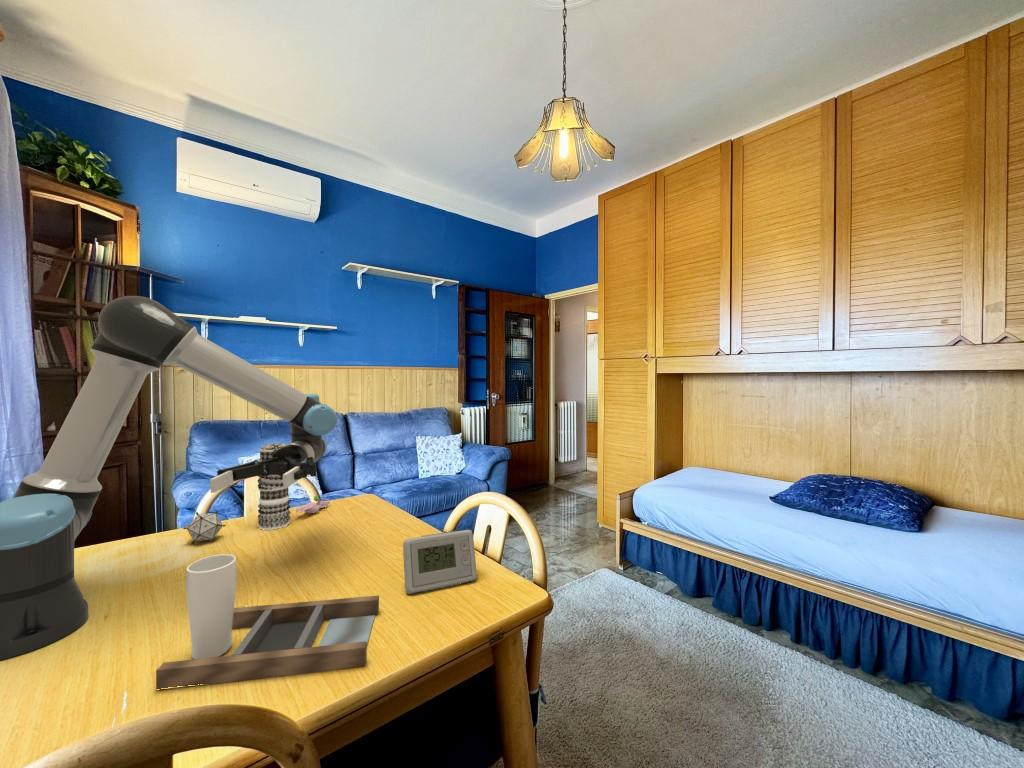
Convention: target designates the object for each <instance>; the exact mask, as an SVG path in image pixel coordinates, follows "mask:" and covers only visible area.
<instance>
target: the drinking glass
mask: <svg viewBox="0 0 1024 768" xmlns="http://www.w3.org/2000/svg"><path fill="white" fill-rule="evenodd" d="M237 570H238V569H237V557H236V556H235V555H233V554H228V553H227V554H222V553H221V554H214V555H210V556H206V557H203V558H200V559H197V560H195V561H193V562H191V563H190V564H189V565H188V566H187V567H186V571H185V572H186V574H185V598H186V606H187V615H188V622H189V631H190V642H191V657H192V660H194V659H203V658H213V657H222V656H224V654H225V653H227V652H228V651H229V650H230V649H231V647H232V645H233V636H232V635H233V629H232V626H233V615H234V608H235V602H236V593H237V581H238V579H237V578H238V575H237V573H238V571H237Z"/></svg>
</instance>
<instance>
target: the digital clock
mask: <svg viewBox="0 0 1024 768" xmlns="http://www.w3.org/2000/svg"><path fill="white" fill-rule="evenodd" d="M402 551H403V553H402V556H403V573H404V589H405V592H406V594H410V595H411V594H416V593H421V592H422V591H423V592H422V593H425V592H424V591H427V592H429V591H428V590H432V589H436V590H439V589H438V588H441V589H443V588H442V587H446V588H448V587H447V586H451V587H453V586H452V585H455V586H457V585H456V584H460V583H462V584H465V583H468V582H469V581H470V582H473V580H474V581H475V580H476V579H477V578H478V577H477V576H478V573H477V563H476V551H475V542H474V534H473V531H472V530H471V529H465V530H459V531H458V530H457V531H456V530H453V531H452V530H451V531H447V532H446V531H445V532H440V533H432V534H427V535H421V536H418V537H417V536H416V537H412V538H407V539H405V540H404V541H403V544H402ZM460 585H461V584H460ZM432 591H433V590H432Z"/></svg>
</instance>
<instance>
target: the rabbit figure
mask: <svg viewBox="0 0 1024 768" xmlns="http://www.w3.org/2000/svg"><path fill="white" fill-rule="evenodd" d="M313 500H314V502H313V501H310V502H307V503H306V504H305V505H301V506H298V507H297V508H296V509H295V513H298V512H299V513H303V512H304V513H305V514H310V513H313V512H315V513H317V512H319V510H321V509H320V508H324V507H327V508H328V507H329V505H328V504H329V503H330V500H329V501H326V502H325V501H324V500H321V499H320V498H319V495H318V494H315V496H314V497H313ZM330 504H331V503H330Z"/></svg>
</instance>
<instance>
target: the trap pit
mask: <svg viewBox="0 0 1024 768" xmlns="http://www.w3.org/2000/svg"><path fill="white" fill-rule="evenodd" d="M323 622H324V620H323V605H317V606H316V607H315V609H314V611H313V613H312V615H311V617H310V619H309V621H298V622H287V623H277V624H272V609H271V610H265V611H264V612H263V614H262V615H261V616H260V618H259V619H258V620H257V622H256V623H255V625H254V626H253V627H251V628H250V630H249V631H248V633H246V635H245V637H243V639H242V641H241V642H240V644H239V645H238V646H237V647H236V649H235V650H234V652H233V653H232V654H231V656H232V655H241V654H251V653H260V652H270V651H279V650H289V649H298V648H308V647H313V644H314V642H315V639H316V638H317V636H318V633H319V631H320V629H321V627H322V625H323Z"/></svg>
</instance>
